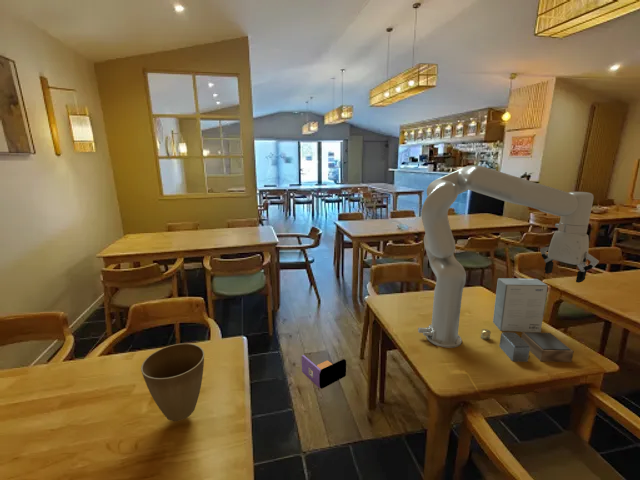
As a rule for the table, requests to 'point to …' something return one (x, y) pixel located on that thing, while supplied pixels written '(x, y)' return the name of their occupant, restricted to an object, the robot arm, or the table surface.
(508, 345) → the housing
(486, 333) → the brass bushing
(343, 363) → the miniature room corner
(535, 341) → the stand
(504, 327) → the hard drive box
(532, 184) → the robot arm
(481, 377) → the table surface
